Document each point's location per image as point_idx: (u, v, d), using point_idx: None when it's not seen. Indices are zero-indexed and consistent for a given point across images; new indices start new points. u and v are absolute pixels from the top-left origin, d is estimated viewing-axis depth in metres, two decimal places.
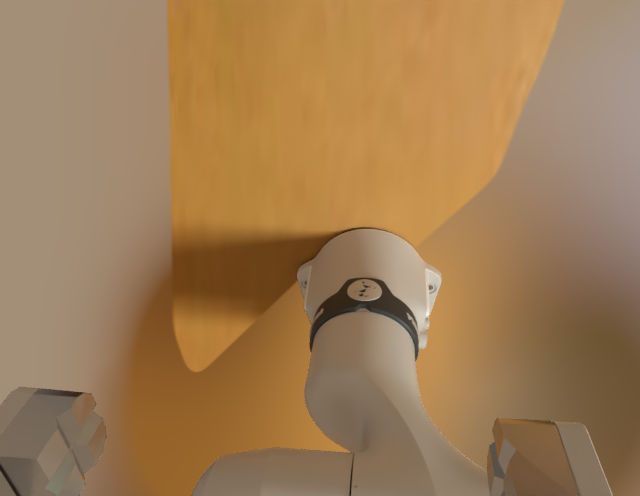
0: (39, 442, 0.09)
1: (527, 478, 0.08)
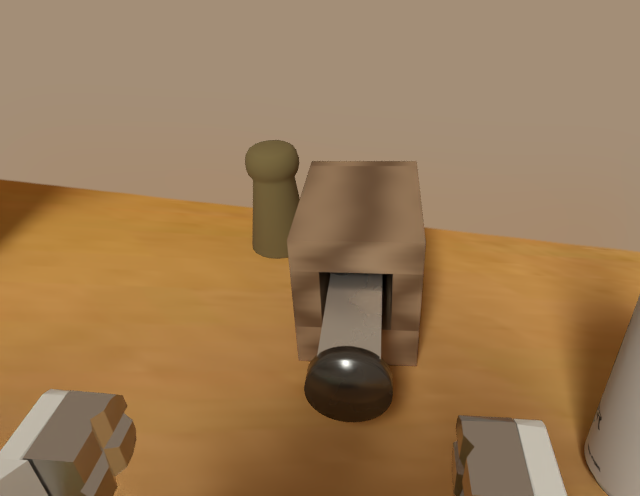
0: (74, 445, 0.09)
1: (483, 475, 0.08)
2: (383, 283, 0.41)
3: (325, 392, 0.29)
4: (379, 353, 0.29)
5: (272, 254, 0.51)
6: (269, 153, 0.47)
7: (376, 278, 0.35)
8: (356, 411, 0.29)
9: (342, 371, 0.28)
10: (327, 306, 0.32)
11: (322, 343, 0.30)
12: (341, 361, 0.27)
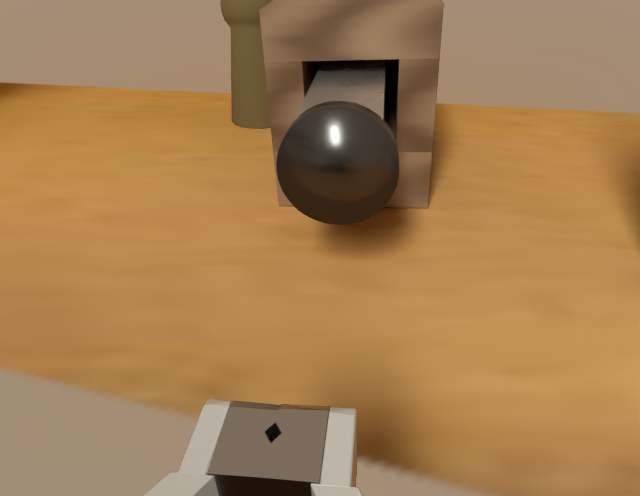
0: (257, 459, 0.09)
1: (279, 459, 0.09)
2: (386, 119, 0.33)
3: (305, 171, 0.21)
4: (381, 115, 0.21)
5: (254, 123, 0.43)
6: None
7: (377, 72, 0.26)
8: (349, 204, 0.21)
9: (328, 129, 0.20)
10: (311, 89, 0.24)
11: (302, 111, 0.21)
12: (327, 111, 0.19)
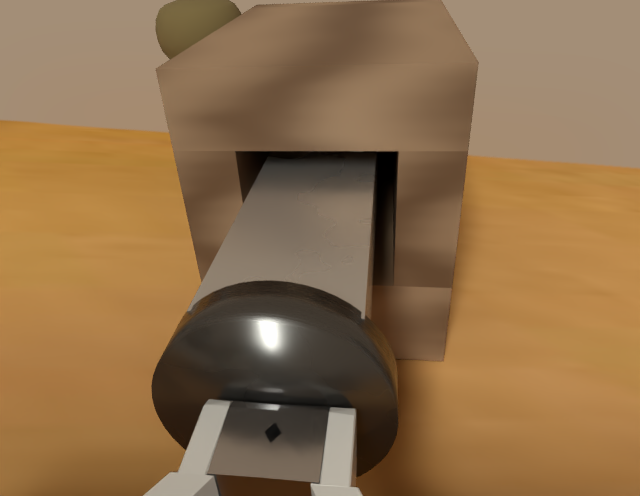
0: (257, 459, 0.09)
1: (279, 459, 0.09)
2: (379, 209, 0.22)
3: None
4: (361, 304, 0.10)
5: None
6: (190, 6, 0.28)
7: (361, 162, 0.16)
8: None
9: (248, 352, 0.09)
10: (246, 207, 0.14)
11: (211, 280, 0.11)
12: (242, 321, 0.09)
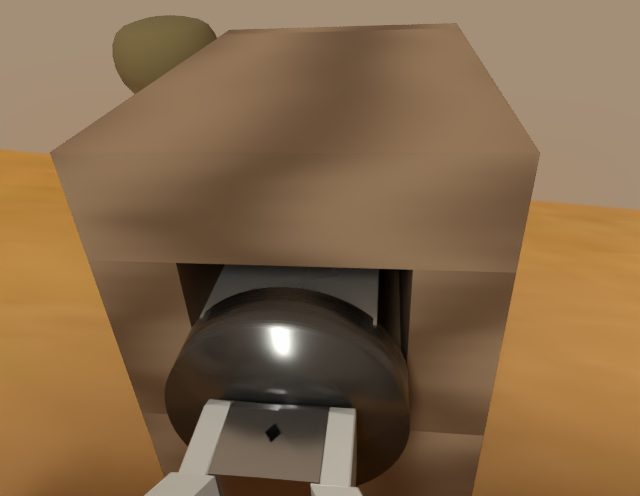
0: (258, 459, 0.09)
1: (279, 459, 0.09)
2: (382, 294, 0.18)
3: None
4: (373, 310, 0.10)
5: None
6: (152, 29, 0.23)
7: None
8: None
9: (262, 359, 0.09)
10: None
11: (222, 287, 0.11)
12: (256, 328, 0.09)
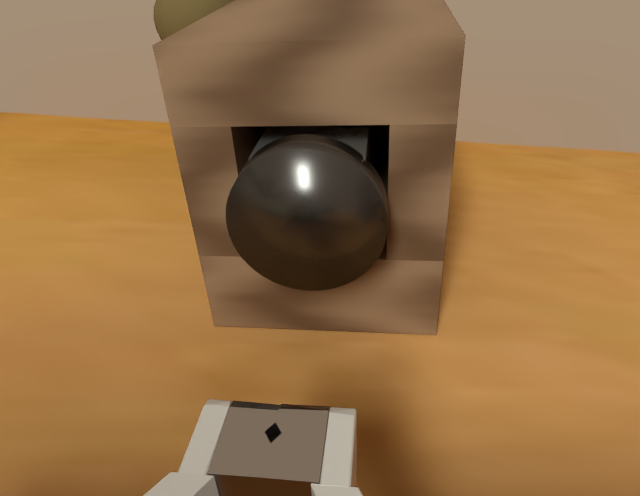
0: (257, 459, 0.09)
1: (279, 459, 0.09)
2: None
3: (264, 226, 0.16)
4: (363, 152, 0.16)
5: None
6: None
7: None
8: (323, 267, 0.16)
9: (291, 174, 0.15)
10: None
11: (261, 145, 0.16)
12: (288, 150, 0.14)
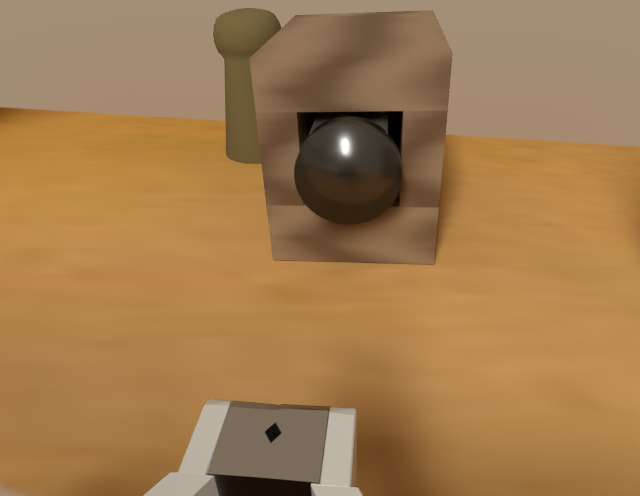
0: (257, 459, 0.09)
1: (279, 459, 0.09)
2: None
3: (319, 178, 0.24)
4: (385, 129, 0.23)
5: (249, 158, 0.41)
6: (242, 16, 0.36)
7: None
8: (357, 207, 0.24)
9: (340, 142, 0.23)
10: None
11: (316, 125, 0.24)
12: (338, 125, 0.22)
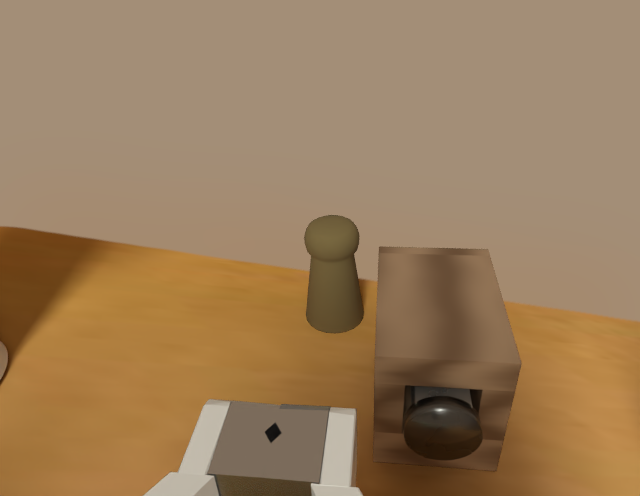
0: (257, 459, 0.09)
1: (279, 459, 0.09)
2: None
3: (422, 435, 0.33)
4: (470, 402, 0.33)
5: (329, 329, 0.50)
6: (332, 234, 0.46)
7: None
8: (448, 452, 0.34)
9: (440, 418, 0.32)
10: None
11: (418, 391, 0.34)
12: (440, 410, 0.32)
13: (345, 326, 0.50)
